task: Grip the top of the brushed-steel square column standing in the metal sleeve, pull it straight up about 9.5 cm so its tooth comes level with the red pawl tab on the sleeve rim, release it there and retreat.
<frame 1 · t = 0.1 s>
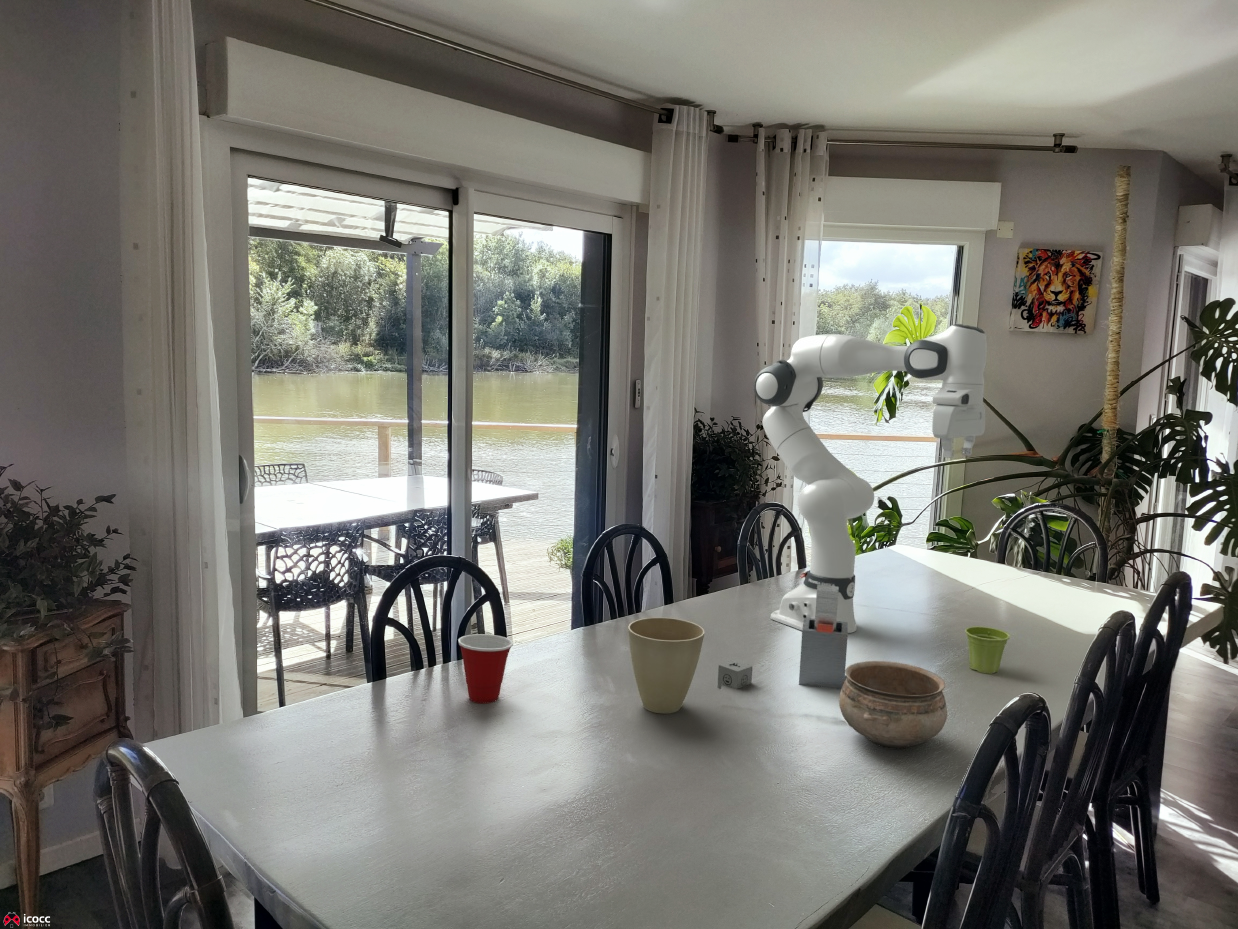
hand: (957, 456, 208), 48 cm above the table, fingers open, 8 cm apart
cooking pot: (889, 742, 166), on the table
column: (824, 634, 191), point 11 cm above the table, slide at 0.0 cm
dice cube: (734, 689, 189), on the table
sleeve: (821, 684, 193), on the table
plant pot: (662, 707, 178), on the table
plastic cup: (484, 698, 179), on the table
plant pot 2: (983, 670, 207), on the table
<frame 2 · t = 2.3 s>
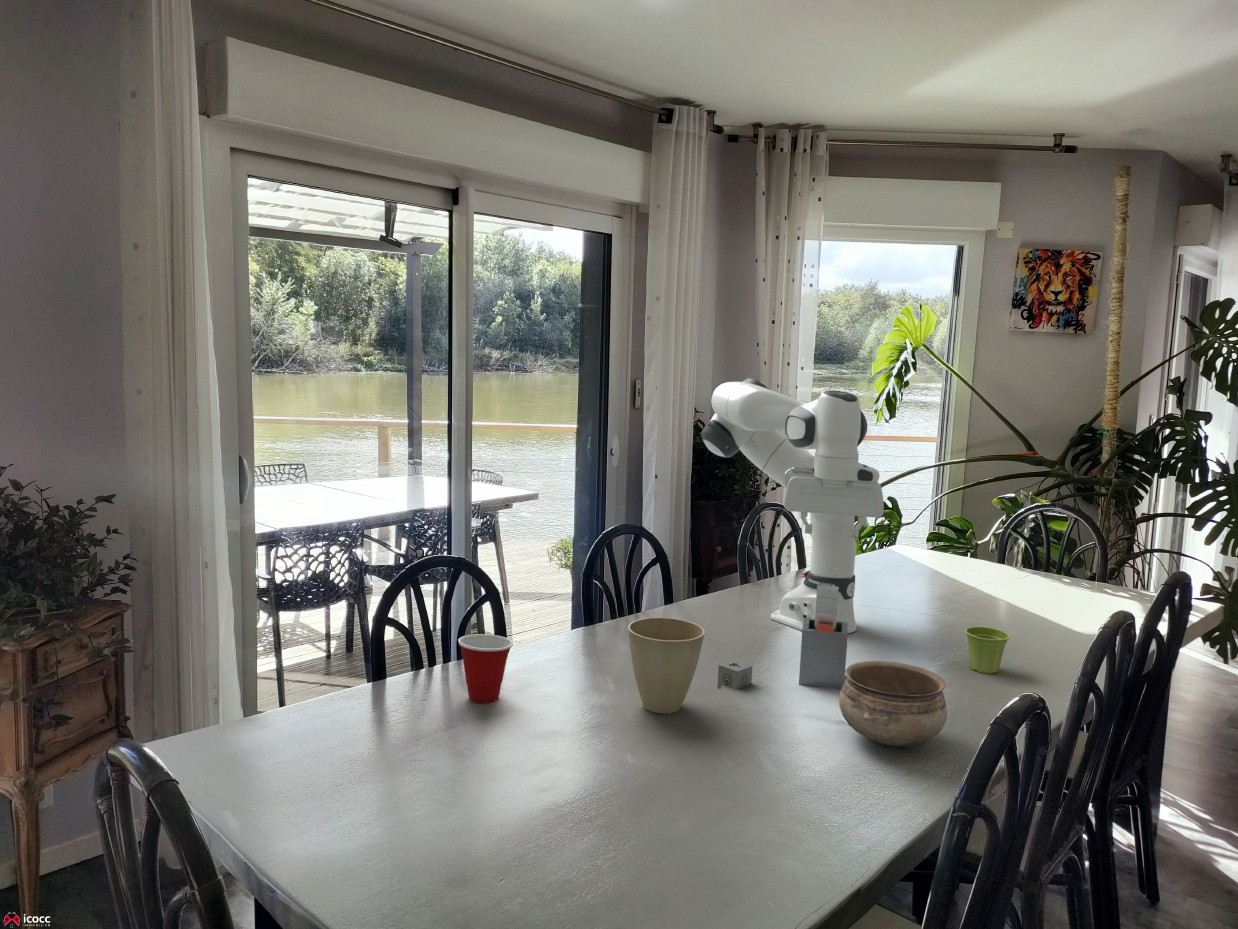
hand: (831, 535, 189), 33 cm above the table, fingers open, 8 cm apart
nothing on the table moved.
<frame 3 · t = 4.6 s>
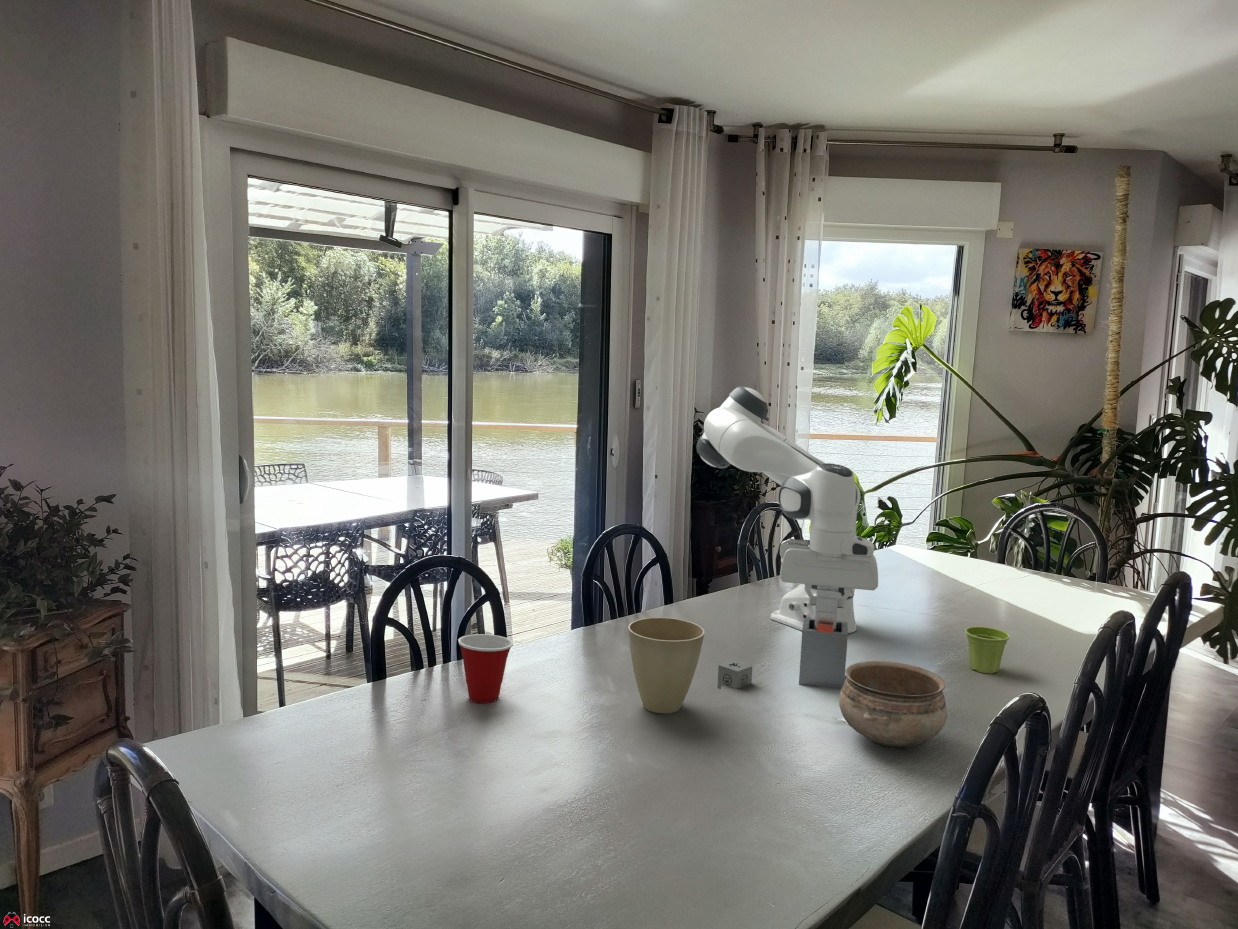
hand: (826, 606, 191), 17 cm above the table, fingers closed on column, 4 cm apart
column: (824, 634, 191), point 11 cm above the table, slide at 0.0 cm, touching gripper
everything else where it was.
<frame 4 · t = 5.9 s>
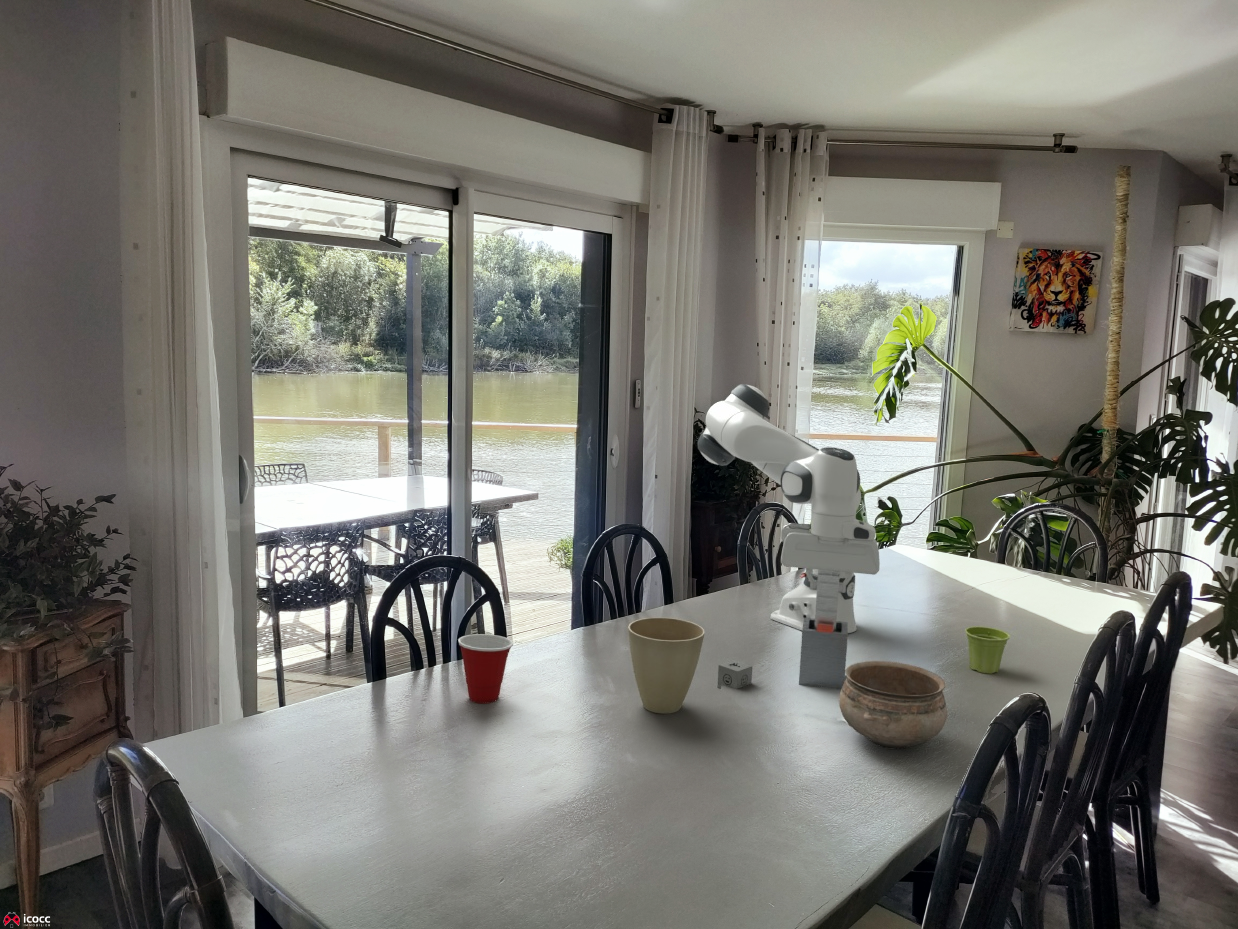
hand: (827, 590, 191), 21 cm above the table, fingers closed on column, 4 cm apart
column: (825, 619, 191), point 14 cm above the table, slide at 3.3 cm, touching gripper
everything else where it was.
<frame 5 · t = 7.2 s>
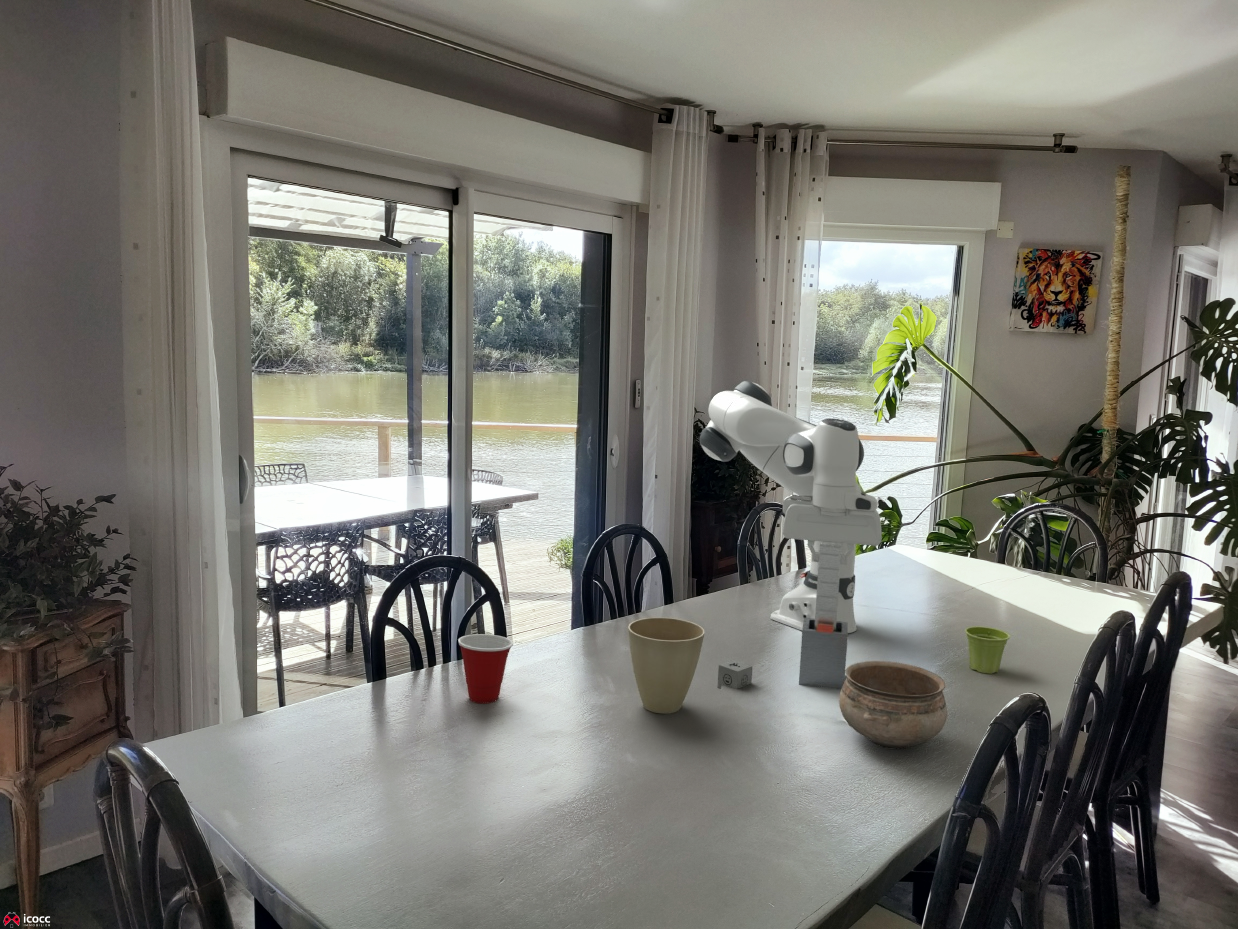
hand: (829, 562, 190), 27 cm above the table, fingers closed on column, 4 cm apart
column: (827, 592, 190), point 21 cm above the table, slide at 9.3 cm, touching gripper
everything else where it was.
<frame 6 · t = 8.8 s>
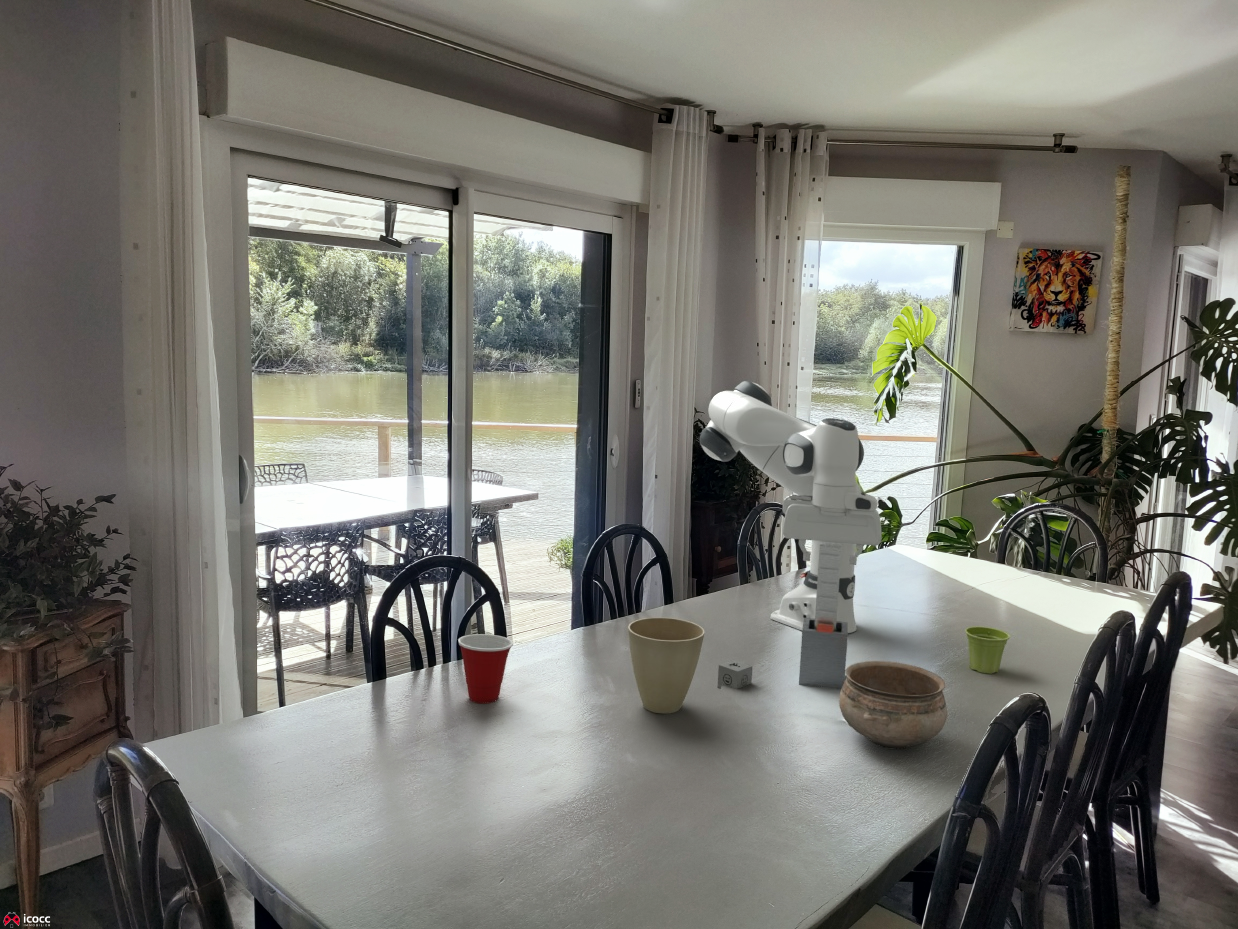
hand: (829, 562, 190), 27 cm above the table, fingers open, 8 cm apart
column: (827, 591, 190), point 21 cm above the table, slide at 9.3 cm
everything else where it was.
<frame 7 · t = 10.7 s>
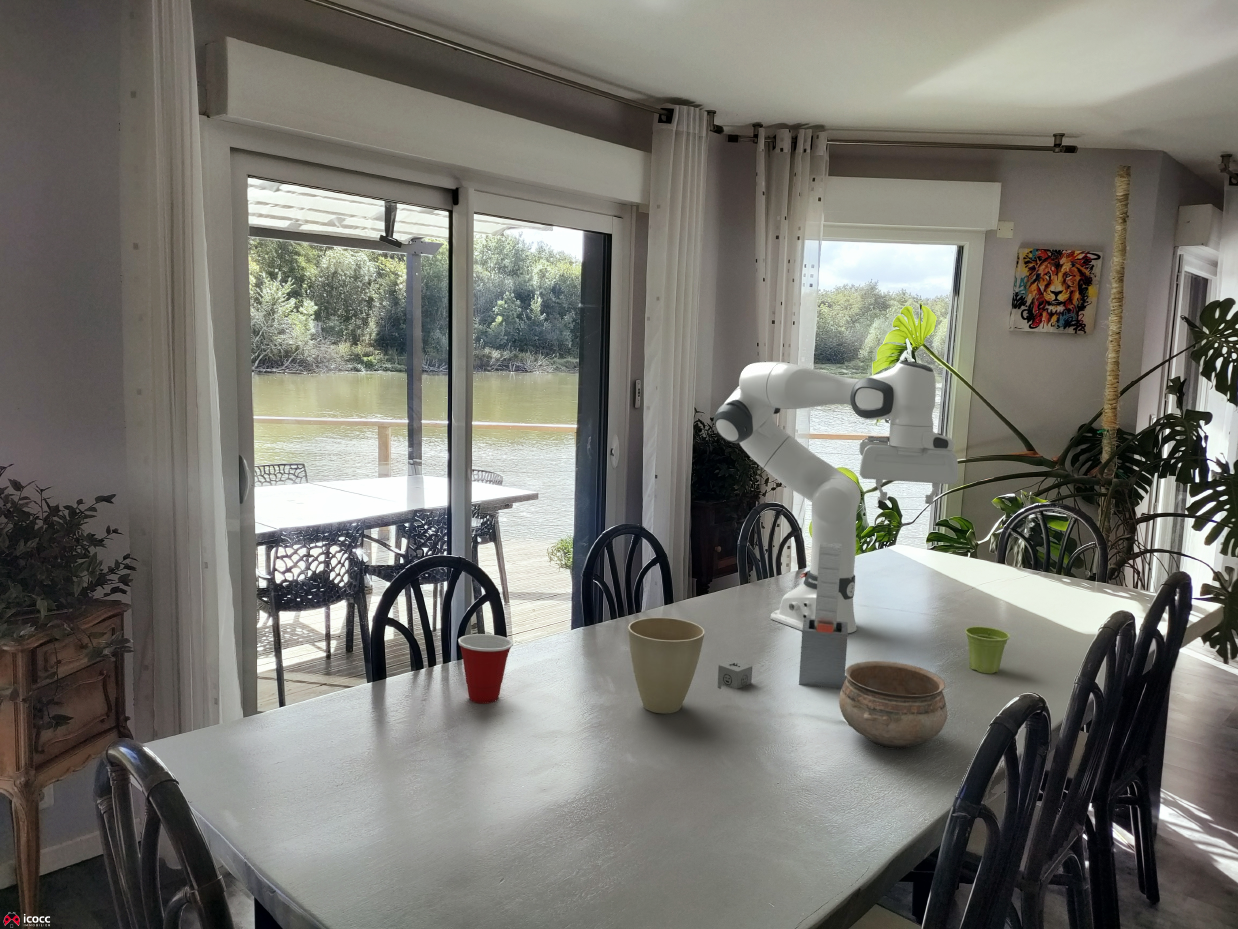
hand: (905, 502, 195), 39 cm above the table, fingers open, 8 cm apart
nothing on the table moved.
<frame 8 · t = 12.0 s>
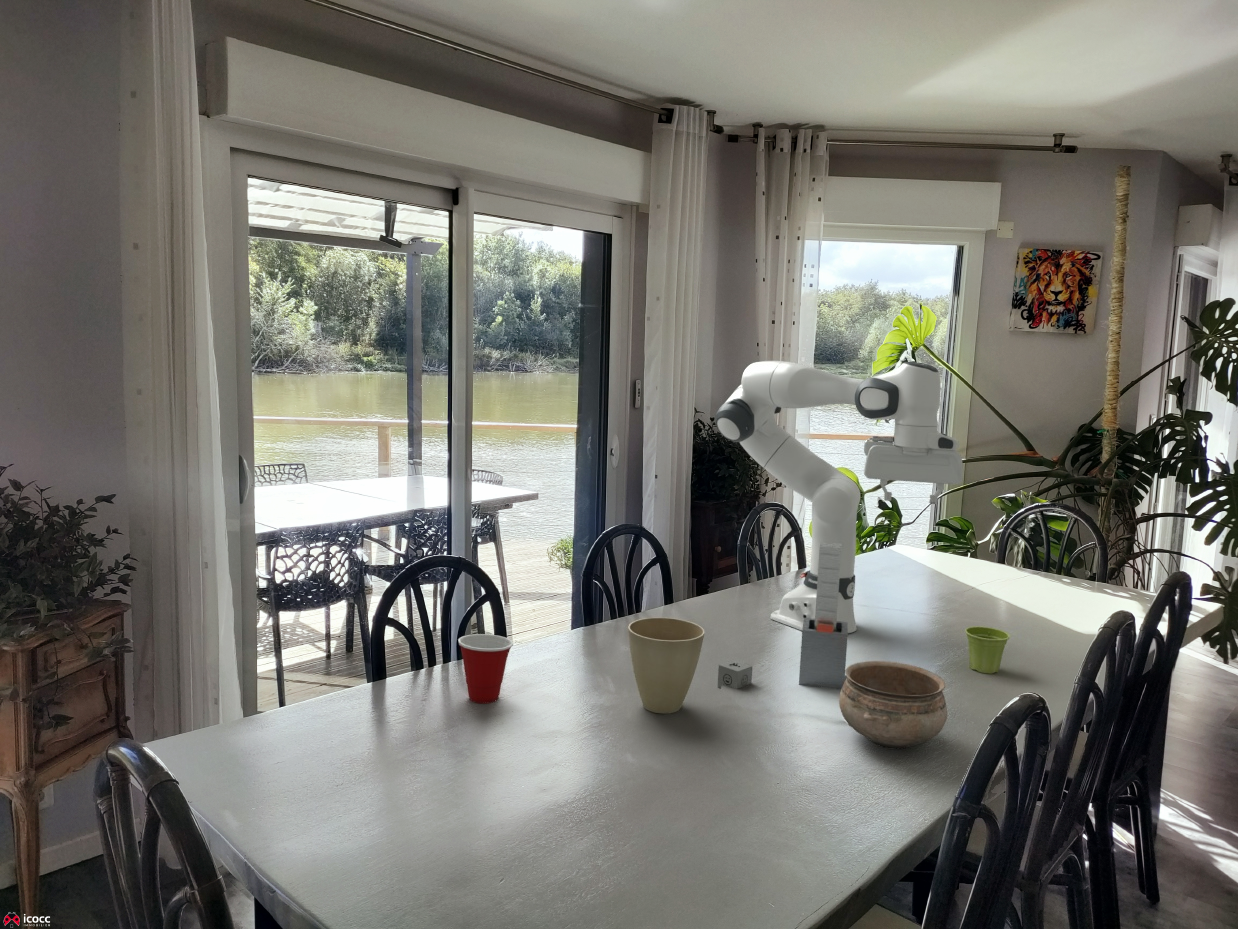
hand: (910, 502, 195), 39 cm above the table, fingers open, 8 cm apart
nothing on the table moved.
at the end: column slide at 9.3 cm; the gripper is holding nothing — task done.
